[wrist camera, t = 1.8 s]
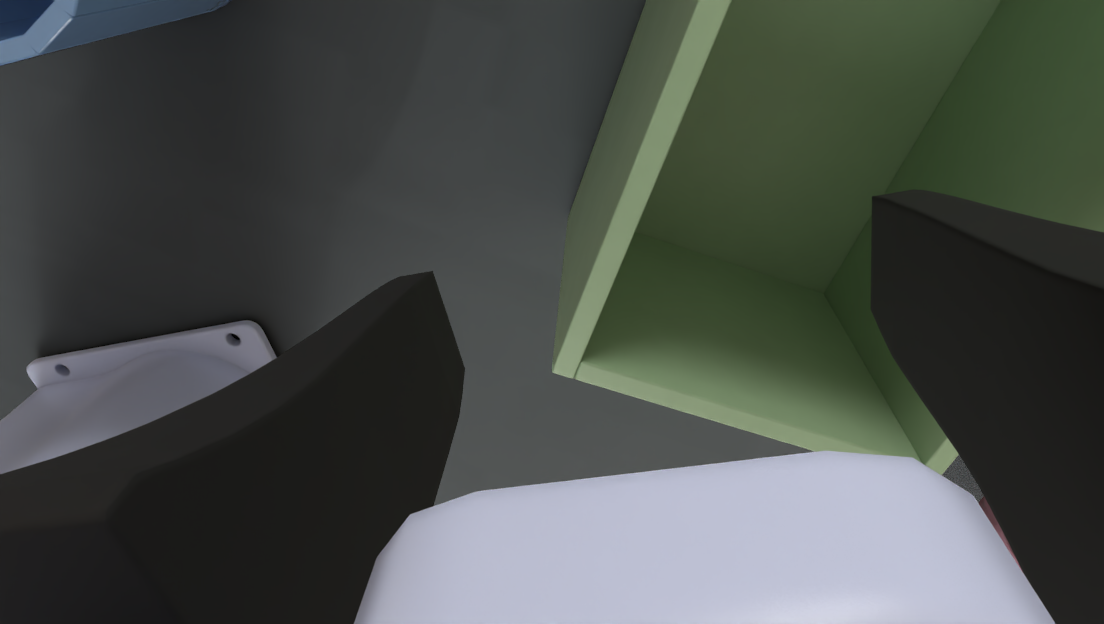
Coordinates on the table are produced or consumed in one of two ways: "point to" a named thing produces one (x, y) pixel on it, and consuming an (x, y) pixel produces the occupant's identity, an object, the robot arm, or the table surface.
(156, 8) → the cup
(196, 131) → the table surface
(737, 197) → the bin
